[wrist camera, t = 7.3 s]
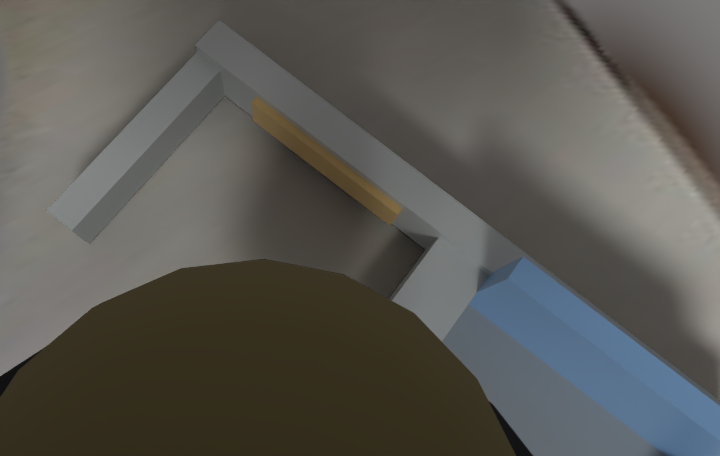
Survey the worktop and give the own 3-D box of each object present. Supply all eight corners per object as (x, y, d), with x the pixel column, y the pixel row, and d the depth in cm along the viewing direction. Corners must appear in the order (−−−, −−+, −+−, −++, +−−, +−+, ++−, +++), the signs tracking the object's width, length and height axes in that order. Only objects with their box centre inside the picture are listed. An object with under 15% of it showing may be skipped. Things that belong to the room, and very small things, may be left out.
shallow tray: (588, 670, 21) (680, 755, 16) (48, 244, 22) (-15, 205, 17) (720, 433, 23) (835, 446, 19) (224, 55, 24) (211, -26, 20)
